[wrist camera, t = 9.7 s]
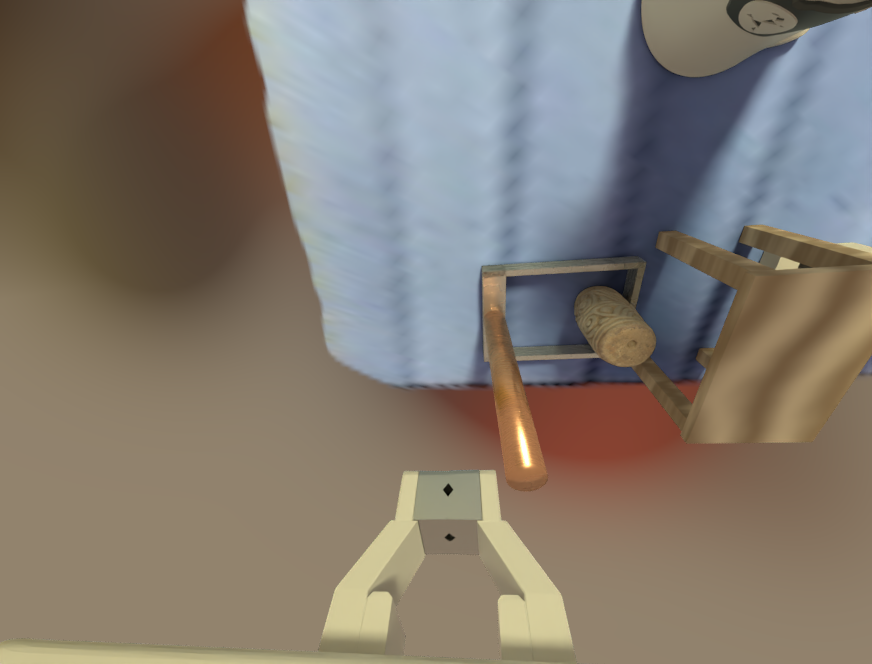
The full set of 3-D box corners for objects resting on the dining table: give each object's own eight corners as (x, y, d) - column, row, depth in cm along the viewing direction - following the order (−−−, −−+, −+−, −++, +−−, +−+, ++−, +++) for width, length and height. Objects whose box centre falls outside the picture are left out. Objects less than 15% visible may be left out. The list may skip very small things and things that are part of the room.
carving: (572, 280, 45) (606, 320, 35) (627, 284, 45) (678, 326, 35) (561, 320, 48) (589, 368, 38) (612, 324, 48) (654, 374, 38)
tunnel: (766, 224, 40) (931, 266, 26) (713, 358, 50) (812, 442, 36) (655, 232, 41) (755, 276, 27) (624, 361, 51) (686, 443, 37)
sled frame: (637, 256, 43) (865, 397, 19) (616, 347, 50) (764, 536, 26) (481, 265, 45) (508, 405, 21) (483, 352, 52) (504, 532, 28)
